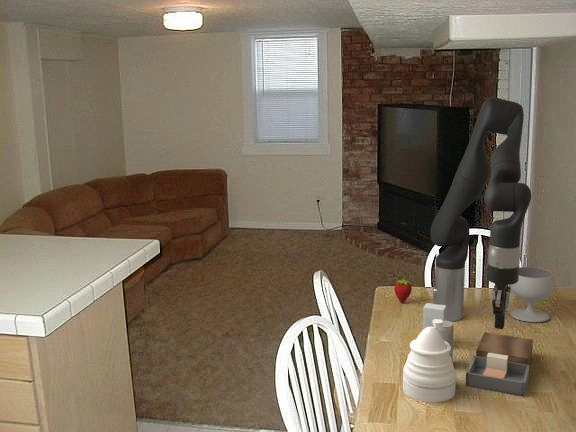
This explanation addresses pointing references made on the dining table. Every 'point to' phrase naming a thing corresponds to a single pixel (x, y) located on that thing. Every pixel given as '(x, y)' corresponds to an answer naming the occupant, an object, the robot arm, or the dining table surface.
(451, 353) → the energy drink
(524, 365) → the box
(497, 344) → the wooden grain block
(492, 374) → the tile front
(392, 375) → the dining table surface
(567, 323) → the dining table surface
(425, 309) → the skincare box
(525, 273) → the chalice
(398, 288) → the strawberry
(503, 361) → the tile back
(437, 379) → the honey pot
